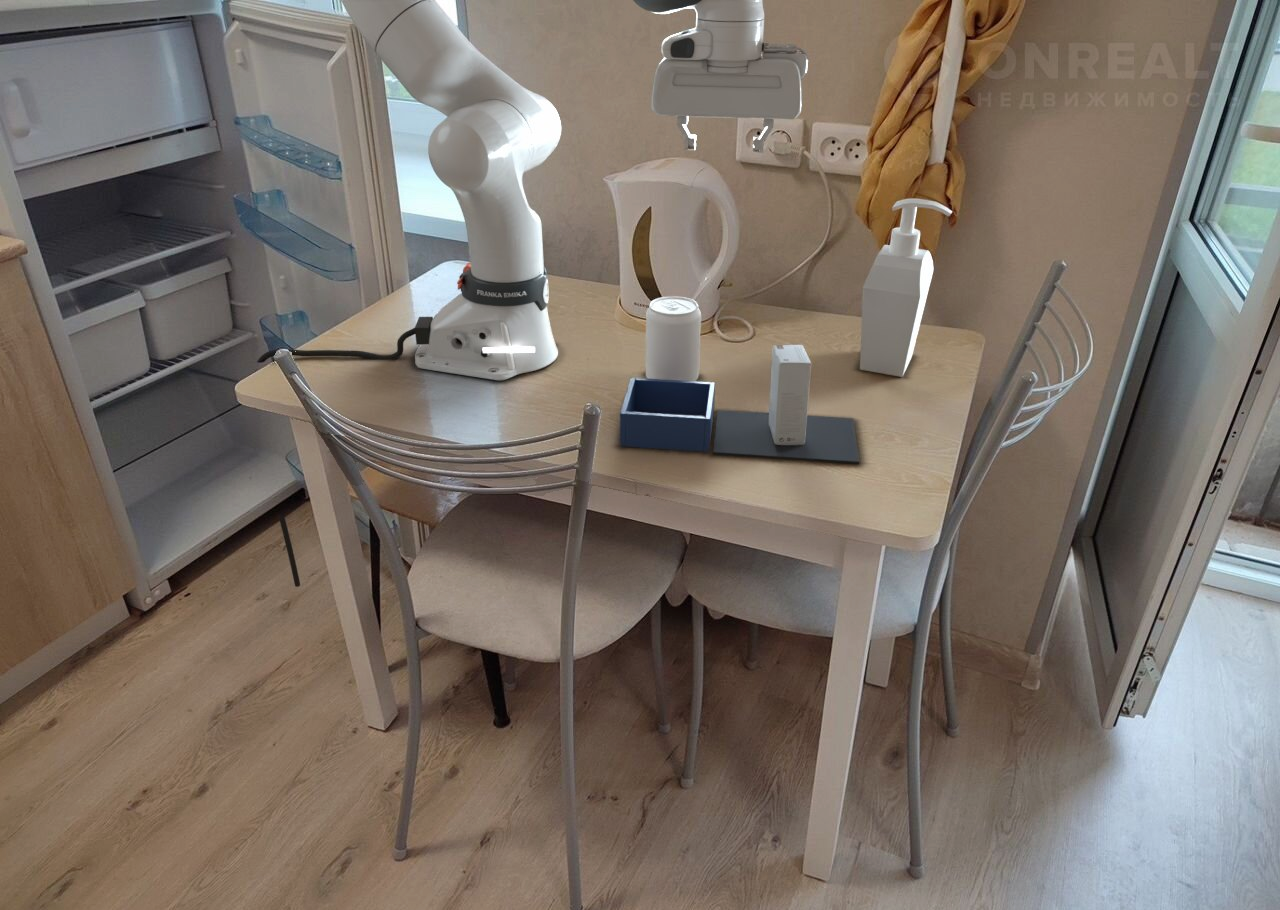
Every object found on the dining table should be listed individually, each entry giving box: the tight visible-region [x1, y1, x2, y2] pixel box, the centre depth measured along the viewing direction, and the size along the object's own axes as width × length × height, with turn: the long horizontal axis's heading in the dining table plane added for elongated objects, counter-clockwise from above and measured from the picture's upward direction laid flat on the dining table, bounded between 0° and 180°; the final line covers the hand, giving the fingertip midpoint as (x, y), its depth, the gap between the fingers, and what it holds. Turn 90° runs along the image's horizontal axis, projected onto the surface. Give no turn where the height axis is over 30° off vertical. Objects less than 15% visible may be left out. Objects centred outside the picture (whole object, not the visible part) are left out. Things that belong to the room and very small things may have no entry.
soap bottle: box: [859, 197, 953, 378], centre depth 142 cm, size 12×10×26 cm
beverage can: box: [645, 295, 702, 381], centre depth 140 cm, size 8×8×12 cm
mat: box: [712, 409, 860, 465], centre depth 128 cm, size 19×12×1 cm, turn 83°
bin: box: [619, 377, 716, 453], centre depth 128 cm, size 12×11×5 cm
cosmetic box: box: [768, 344, 812, 445], centre depth 125 cm, size 6×4×12 cm
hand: (723, 150), depth 130 cm, fingers open, 8 cm apart
